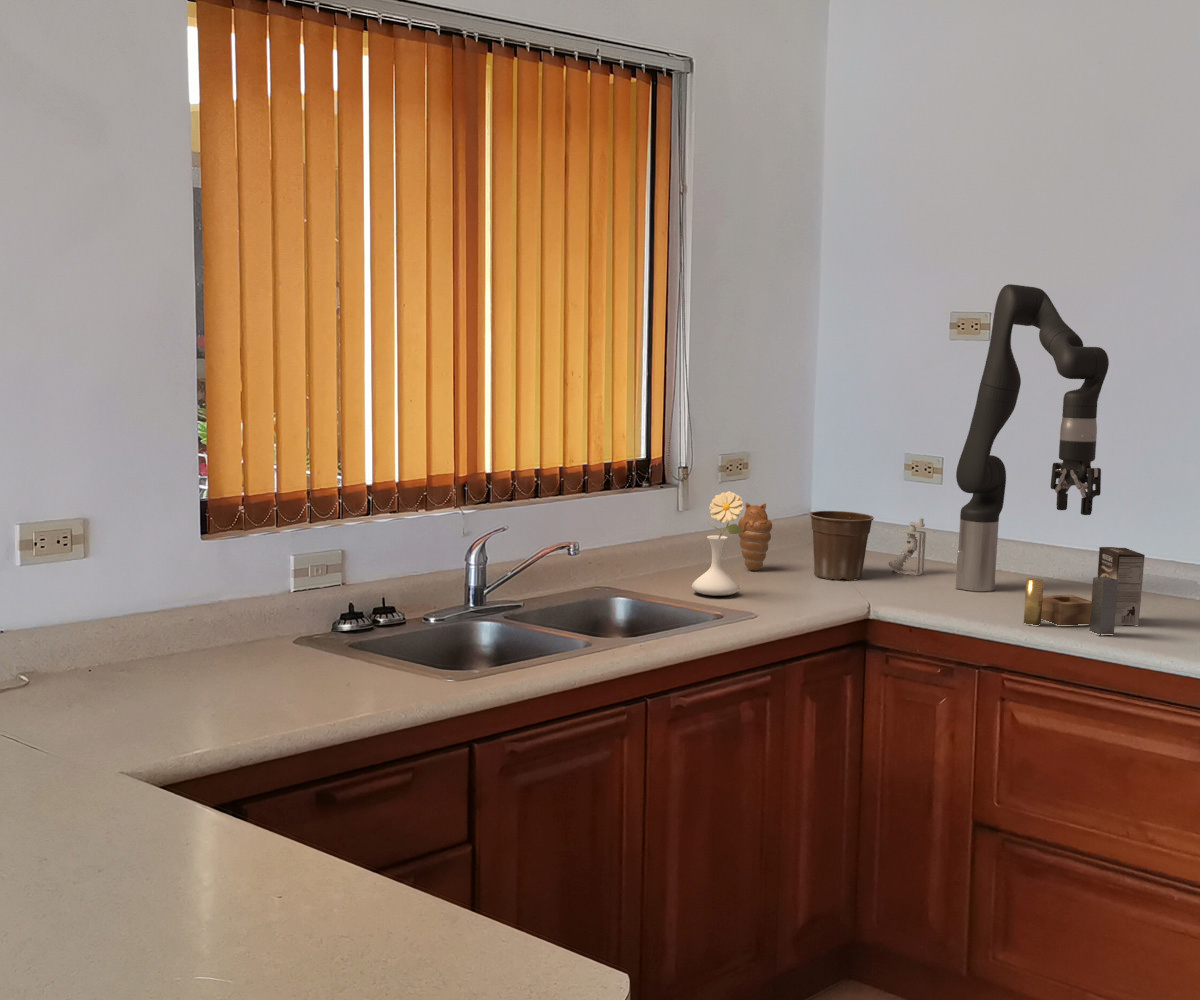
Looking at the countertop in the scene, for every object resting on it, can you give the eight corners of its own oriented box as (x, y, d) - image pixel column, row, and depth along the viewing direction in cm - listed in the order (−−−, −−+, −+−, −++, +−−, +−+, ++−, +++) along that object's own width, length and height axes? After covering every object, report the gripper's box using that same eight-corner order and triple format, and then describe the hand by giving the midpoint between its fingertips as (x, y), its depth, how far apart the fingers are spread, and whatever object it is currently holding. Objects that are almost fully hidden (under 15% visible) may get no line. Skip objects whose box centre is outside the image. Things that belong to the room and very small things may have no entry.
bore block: (1059, 626, 287) (1061, 604, 286) (1035, 617, 295) (1036, 596, 294) (1095, 625, 289) (1096, 602, 288) (1070, 616, 298) (1071, 594, 297)
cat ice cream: (735, 572, 343) (737, 503, 340) (738, 567, 350) (741, 500, 348) (769, 574, 341) (772, 505, 338) (772, 569, 348) (774, 501, 346)
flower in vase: (681, 593, 313) (684, 489, 310) (711, 587, 321) (714, 486, 318) (725, 602, 304) (729, 495, 301) (754, 595, 313) (758, 491, 309)
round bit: (1023, 625, 287) (1026, 580, 286) (1023, 622, 291) (1026, 577, 289) (1041, 626, 286) (1044, 581, 285) (1040, 623, 290) (1043, 578, 288)
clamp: (892, 569, 352) (895, 514, 350) (926, 574, 347) (929, 517, 345) (885, 571, 349) (888, 515, 347) (919, 576, 343) (923, 519, 341)
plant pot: (880, 575, 342) (883, 514, 340) (856, 585, 329) (860, 521, 327) (821, 568, 351) (824, 508, 349) (796, 577, 338) (799, 515, 335)
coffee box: (1093, 616, 298) (1098, 546, 296) (1120, 617, 298) (1125, 546, 296) (1111, 626, 289) (1117, 553, 287) (1140, 626, 289) (1145, 553, 287)
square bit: (1099, 636, 278) (1103, 580, 277) (1089, 632, 282) (1093, 577, 280) (1113, 635, 279) (1117, 580, 278) (1103, 631, 283) (1107, 576, 281)
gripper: (1113, 441, 281) (1109, 516, 283) (1072, 436, 295) (1068, 508, 297) (1083, 441, 279) (1079, 517, 281) (1043, 436, 293) (1039, 508, 295)
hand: (1073, 512), depth 289 cm, fingers open, 8 cm apart
